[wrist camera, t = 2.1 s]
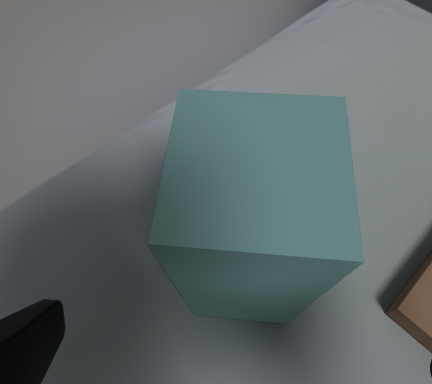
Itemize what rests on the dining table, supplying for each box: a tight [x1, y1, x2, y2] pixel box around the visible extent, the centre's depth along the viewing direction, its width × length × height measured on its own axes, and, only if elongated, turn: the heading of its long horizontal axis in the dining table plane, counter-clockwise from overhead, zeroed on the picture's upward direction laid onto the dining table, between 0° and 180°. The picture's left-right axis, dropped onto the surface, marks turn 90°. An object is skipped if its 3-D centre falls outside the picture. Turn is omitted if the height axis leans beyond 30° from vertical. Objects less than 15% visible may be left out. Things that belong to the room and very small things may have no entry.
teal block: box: [148, 89, 364, 324], centre depth 14 cm, size 5×5×12 cm
